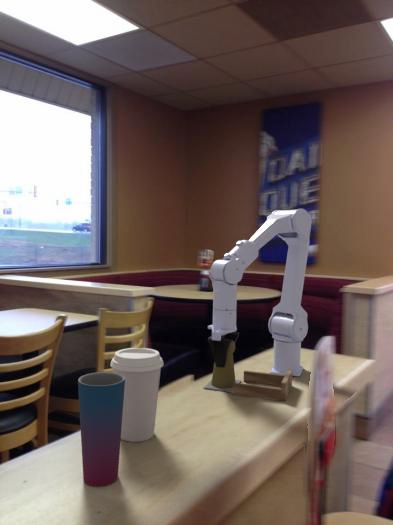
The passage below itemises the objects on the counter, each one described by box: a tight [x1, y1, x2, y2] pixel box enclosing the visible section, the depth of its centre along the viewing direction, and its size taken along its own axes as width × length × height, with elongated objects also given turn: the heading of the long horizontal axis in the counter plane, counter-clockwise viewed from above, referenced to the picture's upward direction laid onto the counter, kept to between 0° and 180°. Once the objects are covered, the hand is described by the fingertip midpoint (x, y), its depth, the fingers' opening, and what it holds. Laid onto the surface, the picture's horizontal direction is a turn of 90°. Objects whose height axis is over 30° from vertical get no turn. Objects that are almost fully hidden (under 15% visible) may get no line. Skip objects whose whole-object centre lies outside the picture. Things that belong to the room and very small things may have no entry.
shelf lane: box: [232, 369, 293, 402], centre depth 112 cm, size 12×12×4 cm
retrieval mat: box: [203, 379, 242, 393], centre depth 116 cm, size 9×7×1 cm
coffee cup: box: [110, 347, 165, 443], centre depth 85 cm, size 10×10×15 cm
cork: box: [211, 341, 236, 388], centre depth 115 cm, size 6×6×11 cm
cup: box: [77, 371, 125, 488], centre depth 70 cm, size 7×7×15 cm
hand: (223, 364), depth 115 cm, fingers closed on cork, 5 cm apart
